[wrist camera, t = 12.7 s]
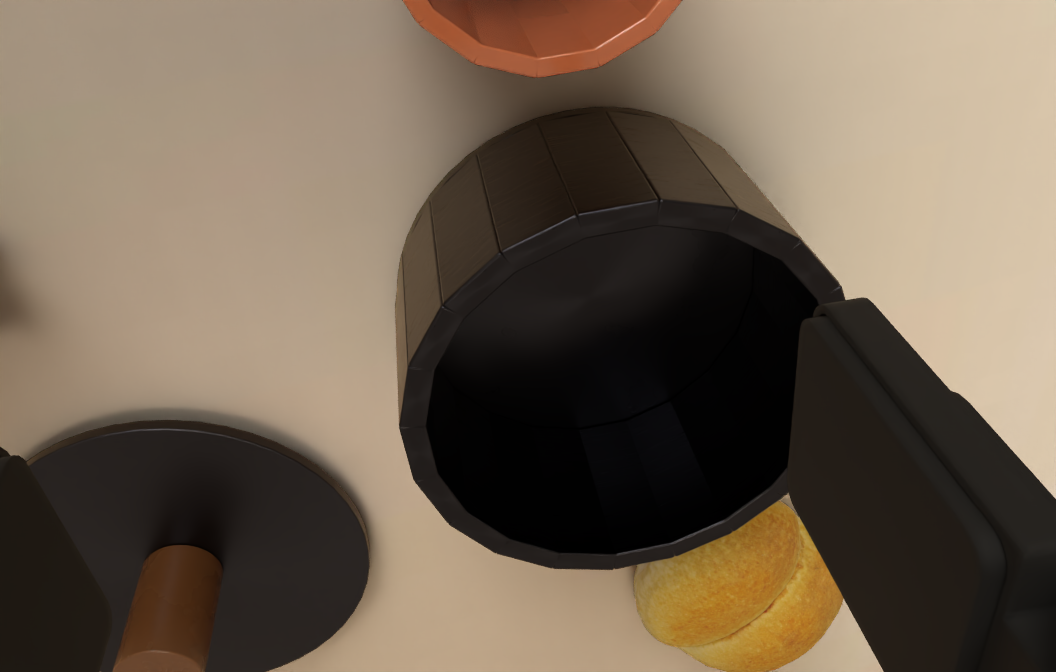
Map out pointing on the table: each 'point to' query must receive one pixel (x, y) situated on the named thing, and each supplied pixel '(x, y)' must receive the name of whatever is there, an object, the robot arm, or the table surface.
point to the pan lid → (207, 544)
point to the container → (541, 31)
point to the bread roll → (742, 596)
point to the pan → (601, 341)
